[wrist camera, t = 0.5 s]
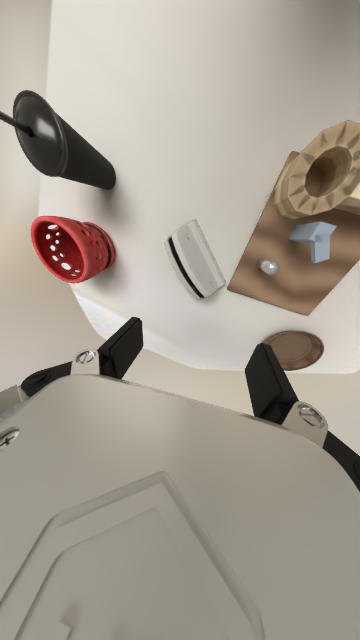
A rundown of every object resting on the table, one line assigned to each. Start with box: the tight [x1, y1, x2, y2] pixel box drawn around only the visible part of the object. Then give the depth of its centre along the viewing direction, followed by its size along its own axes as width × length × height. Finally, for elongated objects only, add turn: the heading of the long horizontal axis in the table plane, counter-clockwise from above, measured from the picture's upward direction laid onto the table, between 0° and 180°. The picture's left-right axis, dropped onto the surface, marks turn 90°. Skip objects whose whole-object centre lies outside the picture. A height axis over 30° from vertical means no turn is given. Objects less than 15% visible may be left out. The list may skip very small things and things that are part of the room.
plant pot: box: [31, 216, 114, 283], centre depth 34 cm, size 13×13×12 cm
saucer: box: [265, 331, 324, 371], centre depth 41 cm, size 15×15×3 cm
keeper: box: [289, 222, 337, 263], centre depth 26 cm, size 5×5×8 cm
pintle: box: [257, 258, 280, 275], centre depth 29 cm, size 2×2×8 cm
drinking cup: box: [0, 90, 116, 190], centre depth 22 cm, size 8×8×20 cm
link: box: [274, 120, 360, 219], centre depth 22 cm, size 20×9×6 cm, turn 75°
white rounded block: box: [165, 219, 226, 300], centre depth 32 cm, size 17×5×10 cm, turn 32°
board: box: [227, 151, 360, 316], centre depth 29 cm, size 24×21×1 cm
